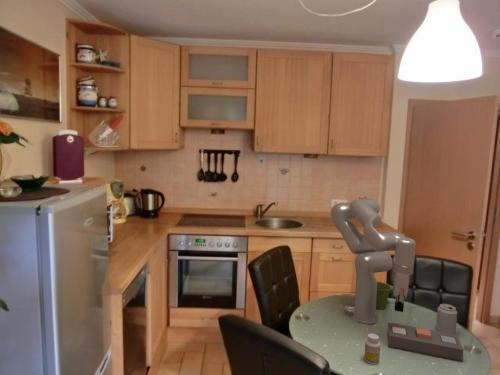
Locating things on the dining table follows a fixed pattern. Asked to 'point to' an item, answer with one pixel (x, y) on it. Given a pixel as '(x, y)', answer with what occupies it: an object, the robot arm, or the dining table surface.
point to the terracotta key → (423, 333)
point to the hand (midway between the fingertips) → (398, 310)
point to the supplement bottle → (372, 349)
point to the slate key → (448, 339)
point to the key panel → (425, 343)
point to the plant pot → (382, 295)
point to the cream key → (398, 330)
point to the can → (446, 319)
